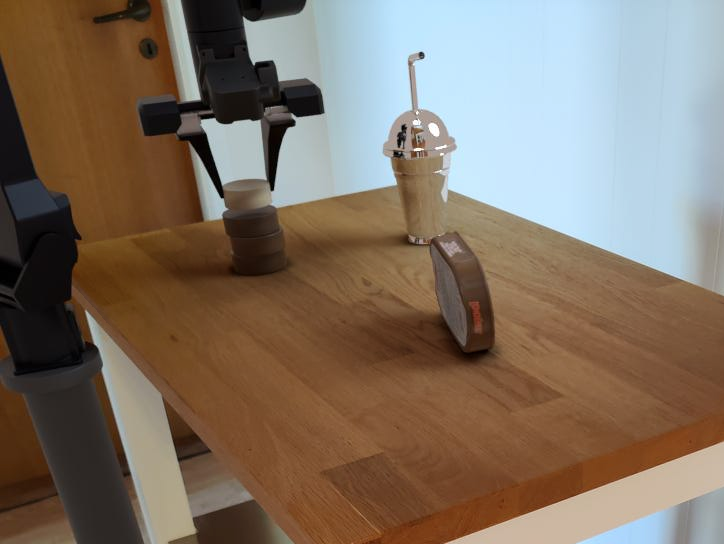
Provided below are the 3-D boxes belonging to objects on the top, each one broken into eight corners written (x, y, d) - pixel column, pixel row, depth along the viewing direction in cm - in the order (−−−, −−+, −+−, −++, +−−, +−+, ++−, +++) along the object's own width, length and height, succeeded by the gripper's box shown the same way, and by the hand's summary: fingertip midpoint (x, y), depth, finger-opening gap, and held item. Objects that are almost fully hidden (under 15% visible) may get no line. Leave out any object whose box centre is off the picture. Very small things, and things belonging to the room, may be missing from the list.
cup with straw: (468, 227, 121) (457, 37, 109) (454, 251, 114) (440, 51, 102) (401, 228, 122) (382, 40, 110) (382, 251, 116) (360, 54, 103)
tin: (499, 363, 88) (495, 266, 83) (465, 368, 88) (458, 271, 82) (462, 307, 100) (455, 219, 94) (431, 311, 99) (423, 223, 94)
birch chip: (228, 213, 107) (224, 193, 106) (221, 201, 111) (218, 182, 109) (276, 206, 108) (273, 186, 107) (268, 195, 112) (264, 176, 111)
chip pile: (238, 279, 111) (226, 222, 107) (229, 263, 115) (218, 208, 112) (293, 269, 112) (284, 214, 108) (283, 254, 117) (273, 200, 113)
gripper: (125, 48, 91) (168, 225, 101) (324, 27, 95) (346, 199, 105) (118, 35, 99) (157, 200, 109) (301, 16, 104) (323, 176, 113)
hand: (246, 194), depth 109 cm, fingers closed on birch chip, 5 cm apart
